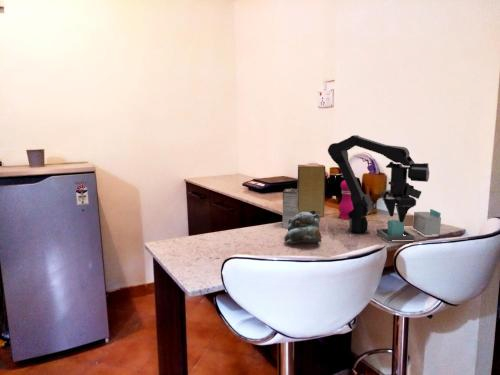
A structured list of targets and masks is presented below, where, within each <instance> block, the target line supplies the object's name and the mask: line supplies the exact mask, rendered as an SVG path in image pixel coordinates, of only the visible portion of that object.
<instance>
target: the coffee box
mask: <svg viewBox="0 0 500 375" xmlns="http://www.w3.org/2000/svg"><path fill="white" fill-rule="evenodd" d="M298 200H299V189H297V188H284V190H283V191H282V228H283V229H284V228H285V229H288V225H289V223H288V219H290V218H293V217H295V216H296V214H298Z"/></svg>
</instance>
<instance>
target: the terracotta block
mask: <svg viewBox="0 0 500 375" xmlns="http://www.w3.org/2000/svg"><path fill="white" fill-rule="evenodd" d="M397 218H398V219H397V220H399V217H397ZM413 221H414V214H412V213H410V212H407V214H406V216H405V219H404V221H403V223H404V226H413Z"/></svg>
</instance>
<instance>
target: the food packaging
mask: <svg viewBox="0 0 500 375" xmlns="http://www.w3.org/2000/svg"><path fill="white" fill-rule="evenodd" d="M296 189H299V200H298V213H302V212H311V211H313V210H314V211H315V213H316V214H319V215H320V218H325V203H326V202H325V199H326V198H325V196H326V195H325V194H326V165H324V164H298V165H297V188H296Z"/></svg>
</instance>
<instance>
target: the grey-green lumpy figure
mask: <svg viewBox="0 0 500 375" xmlns="http://www.w3.org/2000/svg"><path fill="white" fill-rule="evenodd" d="M320 221H321V217H320V215H319V214H316V213H315V211H314V210H313V211H311V212H302V213H298V214H296V216H295V217H293V218H290V219H288V223H289V225H288V228H287V231H288V232H286V234H285V235H284V244H286V245H290V244H297V243H314V244H319V243H322V235H321V231H320Z"/></svg>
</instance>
